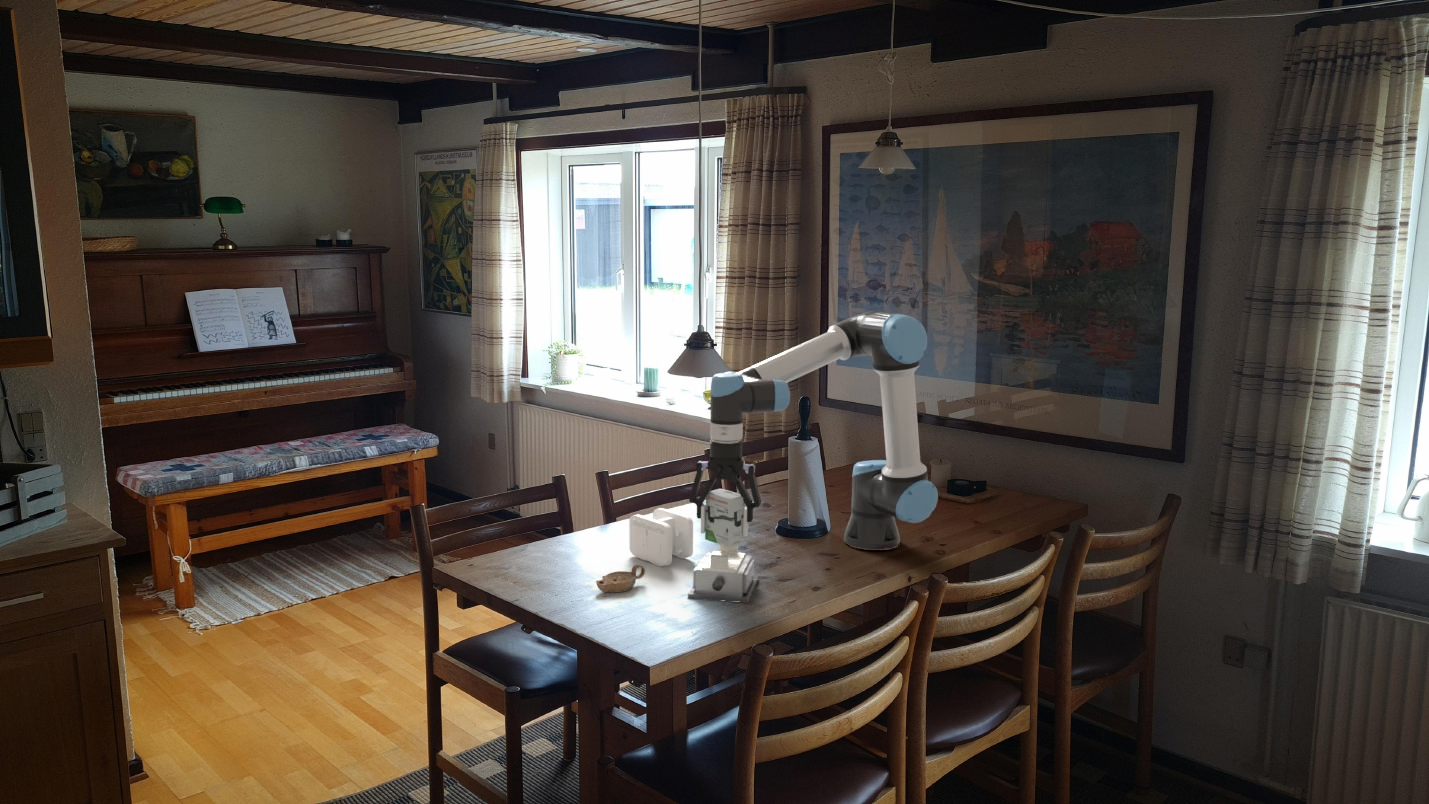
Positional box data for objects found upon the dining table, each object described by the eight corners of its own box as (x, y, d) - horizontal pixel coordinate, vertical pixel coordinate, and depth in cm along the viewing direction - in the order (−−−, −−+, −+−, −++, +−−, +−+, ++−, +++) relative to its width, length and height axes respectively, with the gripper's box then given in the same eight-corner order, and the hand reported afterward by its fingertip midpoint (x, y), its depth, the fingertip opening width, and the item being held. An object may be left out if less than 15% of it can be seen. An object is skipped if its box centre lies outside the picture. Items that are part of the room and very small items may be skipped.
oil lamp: (604, 598, 227) (604, 578, 226) (589, 589, 233) (588, 569, 232) (652, 588, 234) (652, 567, 234) (636, 578, 240) (636, 559, 240)
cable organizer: (695, 561, 254) (696, 517, 252) (665, 570, 246) (665, 525, 245) (657, 547, 264) (657, 506, 262) (627, 556, 257) (627, 513, 255)
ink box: (703, 539, 233) (704, 491, 231) (718, 535, 237) (719, 487, 235) (730, 548, 227) (731, 498, 225) (744, 543, 231) (745, 494, 229)
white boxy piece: (758, 579, 241) (759, 540, 239) (747, 604, 225) (747, 561, 223) (702, 575, 243) (702, 535, 242) (687, 598, 227) (687, 557, 226)
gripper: (676, 440, 227) (675, 534, 230) (771, 446, 222) (768, 541, 226) (683, 434, 234) (682, 525, 238) (775, 439, 230) (773, 532, 233)
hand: (724, 533), depth 232 cm, fingers closed on ink box, 9 cm apart
